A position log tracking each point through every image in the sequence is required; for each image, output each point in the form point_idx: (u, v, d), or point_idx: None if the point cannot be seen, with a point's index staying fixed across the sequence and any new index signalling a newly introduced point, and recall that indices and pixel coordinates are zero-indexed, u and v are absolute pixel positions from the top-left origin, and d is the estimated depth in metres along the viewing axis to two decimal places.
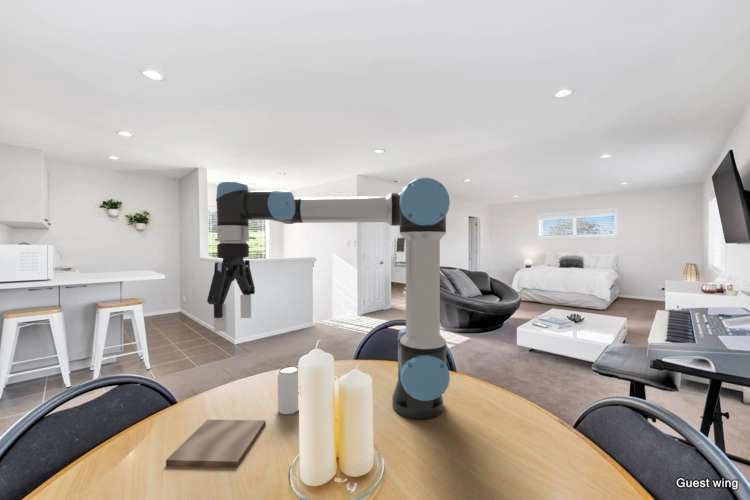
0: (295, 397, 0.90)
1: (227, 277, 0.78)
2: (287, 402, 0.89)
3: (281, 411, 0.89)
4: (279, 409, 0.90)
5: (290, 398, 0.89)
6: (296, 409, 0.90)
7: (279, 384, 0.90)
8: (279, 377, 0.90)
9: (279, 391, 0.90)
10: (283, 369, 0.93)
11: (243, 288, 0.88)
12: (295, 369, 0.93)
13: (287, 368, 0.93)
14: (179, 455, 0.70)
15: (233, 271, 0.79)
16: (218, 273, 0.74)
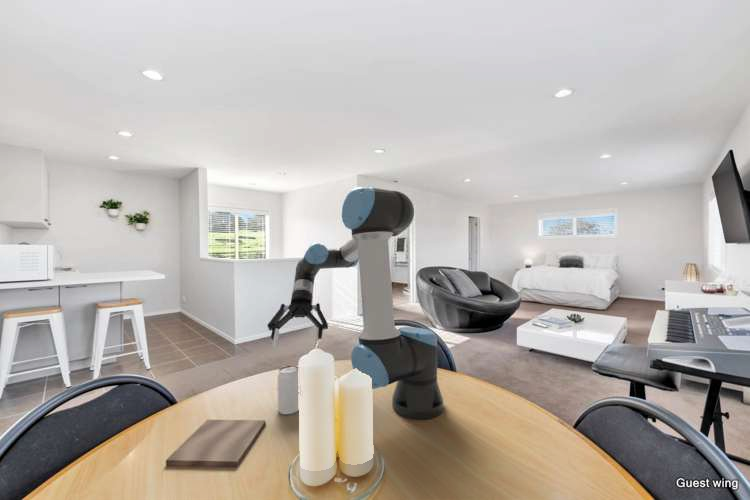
0: (295, 397, 0.90)
1: None
2: (287, 402, 0.89)
3: (281, 411, 0.89)
4: (279, 409, 0.90)
5: (290, 398, 0.89)
6: (296, 409, 0.90)
7: (279, 384, 0.90)
8: (279, 377, 0.90)
9: (279, 391, 0.90)
10: (283, 369, 0.93)
11: (315, 324, 1.09)
12: (295, 369, 0.93)
13: (287, 368, 0.93)
14: (179, 455, 0.70)
15: None
16: None
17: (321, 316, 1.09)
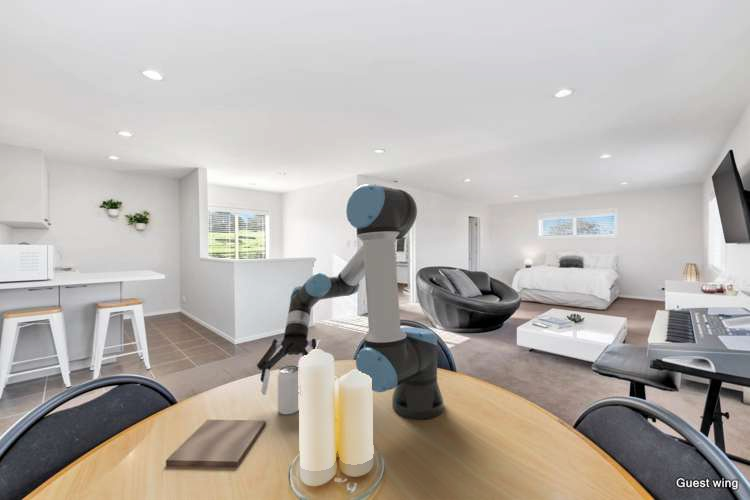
0: (295, 397, 0.90)
1: None
2: (287, 402, 0.89)
3: (281, 411, 0.89)
4: (279, 409, 0.90)
5: (290, 398, 0.89)
6: (296, 409, 0.90)
7: (279, 384, 0.90)
8: (279, 377, 0.90)
9: (279, 391, 0.90)
10: (283, 369, 0.93)
11: None
12: (295, 369, 0.93)
13: (287, 368, 0.93)
14: (179, 455, 0.70)
15: None
16: None
17: None
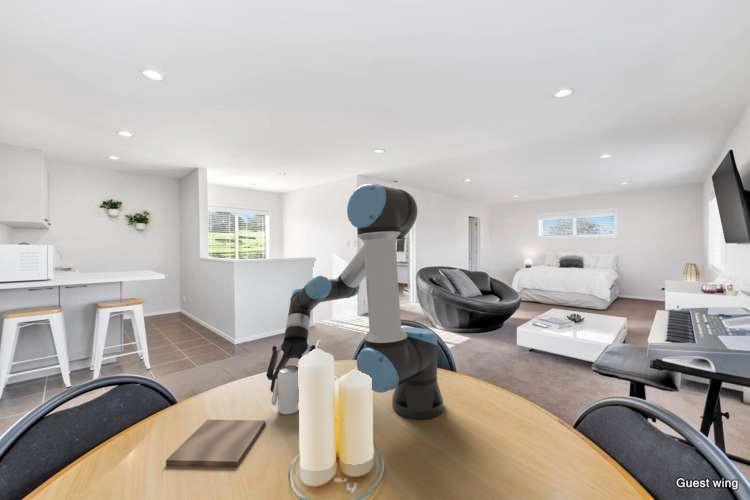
0: (295, 397, 0.90)
1: None
2: (287, 402, 0.89)
3: (281, 411, 0.89)
4: (279, 409, 0.90)
5: (290, 398, 0.89)
6: (296, 409, 0.90)
7: (279, 384, 0.90)
8: (279, 377, 0.90)
9: (279, 391, 0.90)
10: (283, 369, 0.93)
11: None
12: (295, 369, 0.93)
13: (287, 368, 0.93)
14: (179, 455, 0.70)
15: None
16: None
17: None
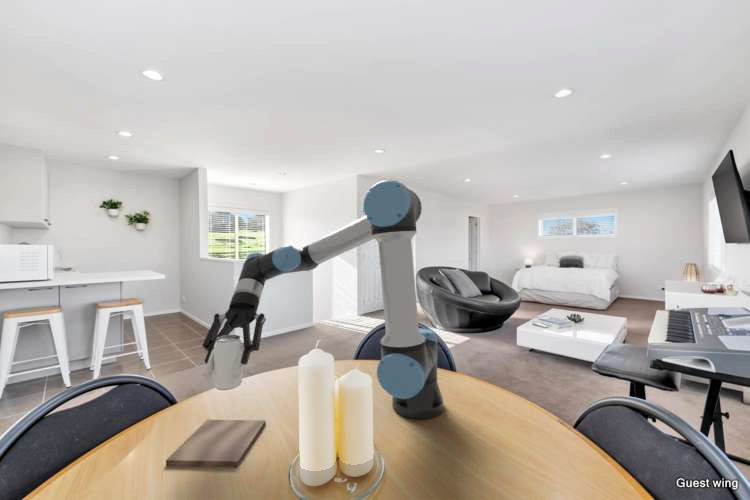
0: None
1: None
2: (223, 376, 0.76)
3: (216, 386, 0.77)
4: (215, 384, 0.77)
5: (227, 370, 0.76)
6: (235, 384, 0.78)
7: (214, 354, 0.77)
8: (215, 346, 0.77)
9: (214, 363, 0.77)
10: (222, 338, 0.80)
11: None
12: (235, 338, 0.80)
13: (227, 337, 0.81)
14: (179, 455, 0.70)
15: None
16: None
17: (255, 332, 0.83)
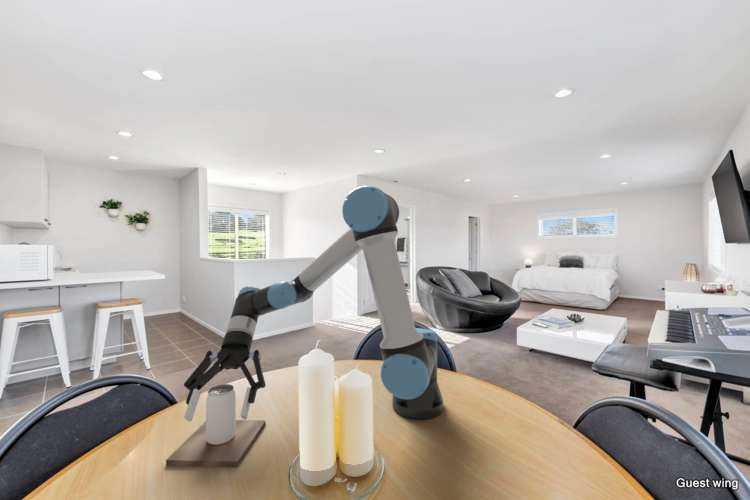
0: (227, 423, 0.75)
1: None
2: (216, 430, 0.74)
3: (209, 441, 0.74)
4: (207, 438, 0.74)
5: (220, 425, 0.74)
6: (228, 438, 0.75)
7: (207, 408, 0.74)
8: (207, 400, 0.74)
9: (207, 417, 0.74)
10: (214, 389, 0.77)
11: None
12: (229, 389, 0.77)
13: (220, 388, 0.78)
14: (179, 455, 0.70)
15: None
16: None
17: (257, 369, 0.81)
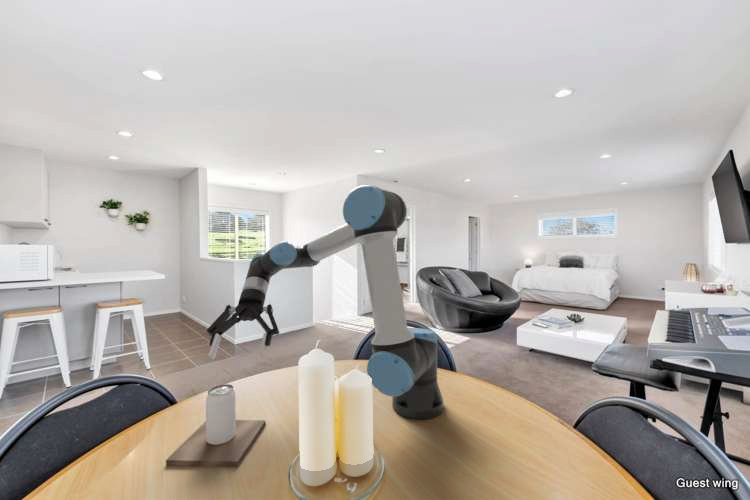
0: (227, 423, 0.75)
1: None
2: (216, 430, 0.74)
3: (209, 441, 0.74)
4: (207, 438, 0.74)
5: (220, 425, 0.74)
6: (228, 438, 0.75)
7: (207, 408, 0.74)
8: (207, 400, 0.74)
9: (207, 417, 0.74)
10: (214, 389, 0.77)
11: (264, 329, 0.93)
12: (229, 389, 0.77)
13: (220, 388, 0.78)
14: (179, 455, 0.70)
15: None
16: None
17: (271, 319, 0.94)
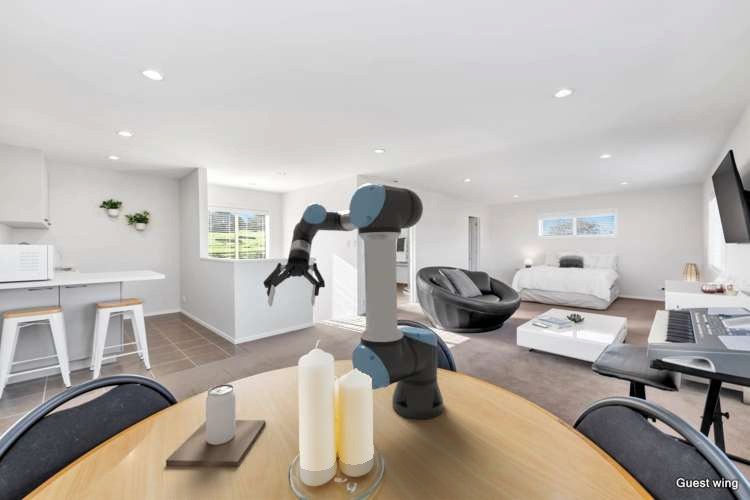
0: (227, 423, 0.75)
1: None
2: (216, 430, 0.74)
3: (209, 441, 0.74)
4: (207, 438, 0.74)
5: (220, 425, 0.74)
6: (228, 438, 0.75)
7: (207, 408, 0.74)
8: (207, 400, 0.74)
9: (207, 417, 0.74)
10: (214, 389, 0.77)
11: (312, 282, 1.07)
12: (229, 389, 0.77)
13: (220, 388, 0.78)
14: (179, 455, 0.70)
15: None
16: None
17: (318, 274, 1.08)
